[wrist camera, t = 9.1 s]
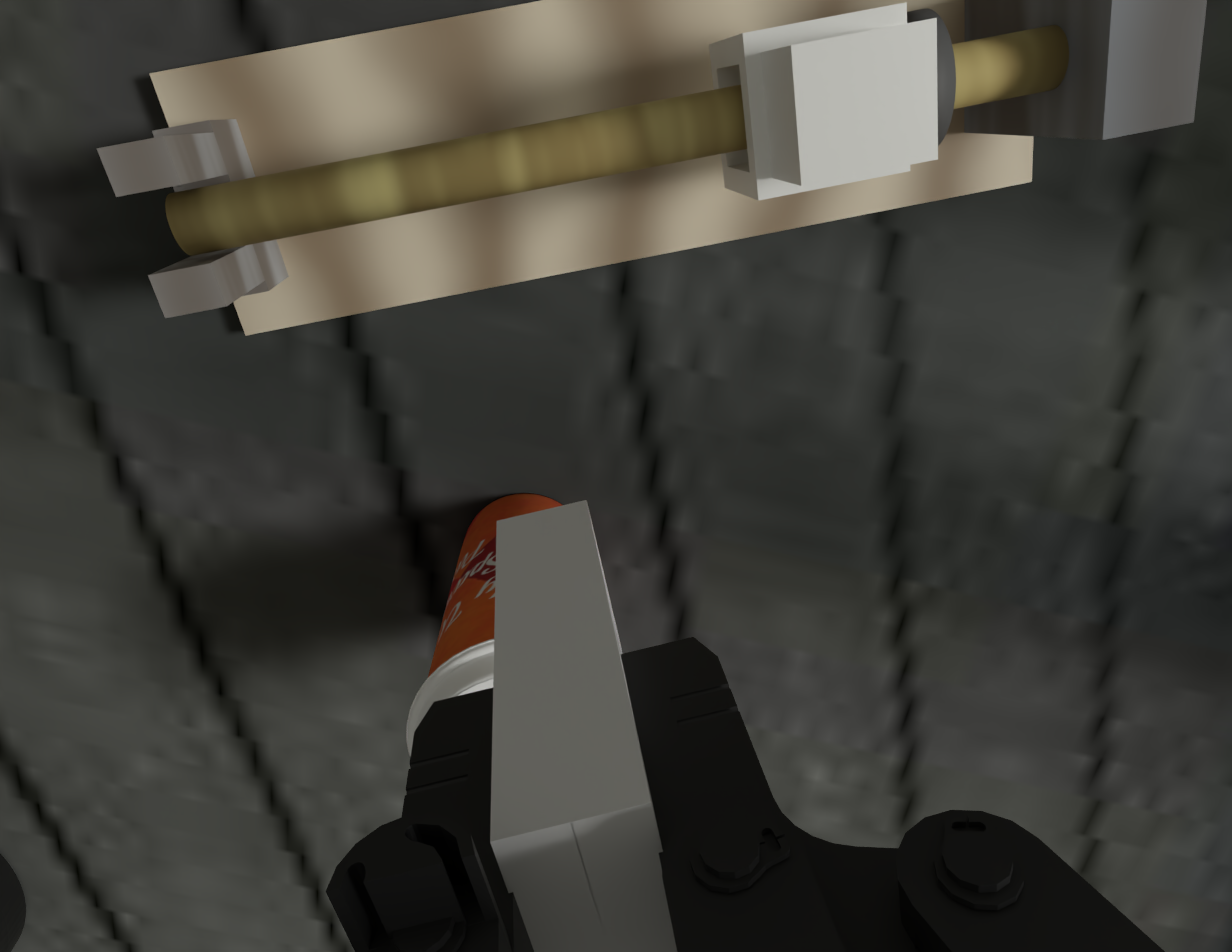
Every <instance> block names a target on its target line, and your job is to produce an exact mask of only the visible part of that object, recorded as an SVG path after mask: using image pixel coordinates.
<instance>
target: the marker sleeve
mask: <svg viewBox="0 0 1232 952" xmlns="http://www.w3.org/2000/svg"><path fill="white" fill-rule="evenodd" d="M709 51H710V60H711V69H712V78H713V87H714V90H715V89H720V88H725V87H730V86H736V85H741V90H742V100H743V110H744V120H745V130H746V140H747V149H744V150H739V151H734V152H728V153H723V154H721V159H722V168H723V177H724V186H725V188H727V189H729V190H732V191H735V192H737V193H740V194H742V195H745V196H748V197H750V198H753V199H756V200H758V201H759V200H764V199H769V198H775V197H780V196H785V195H790V194H795V193H800V192H805V191H811V190H816V189H821V188H826V187H831V186H836V185H841V184H847V183H852V182H857V181H862V180H867V179H872V178H877V177H883V176H888V175H893V174H898V173H903V172H908V171H910V165H912V164H917V163H922V162H927V161H932V160H938V100H937V18H932V19H927V20H922V21H917V22H911V23H907V2H905V3H899V4H894V5H889V6H883V7H878V8H873V9H868V10H862V11H857V12H852V13H846V14H841V15H836V16H830V17H825V18H820V19H815V20H809V21H804V22H799V23H793V24H788V25H783V26H778V27H772V28H767V29H762V30H756V31H751V32H746V33H741V34H738V35H736V36H733V37H730V38H727V39H724V40H721V41H718V42H715V43H712V44H709Z"/></svg>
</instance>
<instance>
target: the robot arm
mask: <svg viewBox="0 0 1232 952" xmlns="http://www.w3.org/2000/svg"><path fill="white" fill-rule="evenodd" d="M410 767H411V769H409V771H408V778H407V785H406V791H407V795H406V796H405V799H404V805H403V812H402V818H400V819H397V820H394V821H392V822H389V823H387V824H384V825H382V826H380V827H379V828H377V829H376V830H374V831H373V832H372V833H370V834H369V835H367V836H366V837H365V838H363V839H362V840H360V841H359V842H358V843H356V844H355V846H354V847H353V848H352V849H351V850H350V851H349V853H348V854H347V855H346V856H345V857H344V858H343V860H342V861H341V862H340V863H339V864H338V865H337V867H336V869H335V872H334V874H333V876H332V878H331V881H330V883H329V885H328V888H327V890H326V893H327V895H328V897H329V899H330V901H331V903H332V905H333V907H334V909H335V911H336V913H337V915H338V918H339V920H340V922H341V924H342V926H343V928H344V930H345V932H346V934H347V936H348V938H349V940H350V942H351V944H352V946H353V948H354V950H355V952H1165V951H1164V950H1162V949H1161V948H1160V947H1159V946H1158V945H1157V944H1156V943H1155V942H1153V941H1152V940H1151V939H1150V938H1149V937H1148V936H1147V935H1146V934H1145V933H1143V932H1142V931H1141V930H1140V929H1139V928H1138V927H1137V926H1136V925H1135V924H1133V923H1132V922H1131V921H1130V920H1129V919H1128V918H1127V917H1126V916H1125V915H1123V914H1122V913H1121V912H1120V911H1119V910H1118V909H1117V908H1116V907H1114V906H1113V905H1112V904H1111V903H1110V902H1109V901H1108V900H1107V899H1106V898H1104V897H1103V896H1102V895H1101V894H1100V893H1099V892H1098V891H1097V890H1096V889H1094V888H1093V887H1092V886H1091V885H1090V884H1089V883H1088V882H1087V881H1085V880H1084V879H1083V878H1082V877H1081V876H1080V875H1079V874H1078V873H1077V872H1075V871H1074V870H1073V869H1072V868H1071V867H1070V866H1069V865H1068V864H1067V863H1065V862H1064V861H1063V860H1062V859H1061V858H1060V857H1059V856H1058V855H1057V854H1055V853H1054V852H1053V851H1052V850H1051V849H1050V848H1049V847H1048V846H1046V845H1045V844H1044V843H1043V842H1042V841H1041V840H1040V839H1039V838H1037V837H1036V836H1034V835H1033V834H1031V833H1030V832H1028V831H1027V830H1025V829H1024V828H1022V827H1020V826H1019V825H1017V824H1016V823H1014V822H1013V821H1011V820H1008V819H1005V818H1001V817H998V816H995V815H992V814H989V813H986V812H983V811H965V810H949V811H946V812H943V813H939V814H936V815H932V816H929V817H925V818H924V819H922V820H921V821H920V822H919V823H917V824H916V825H915V826H914V827H912V828H911V829H910V830H909V831H907V832H906V833H905V835H904V838H903V840H902V842H901V844H900V847H899V849H897V848H875V847H855V846H848V845H841V844H834V843H830V842H828V841H825V840H822V839H819V838H816V837H814V836H811V835H810V834H808V833H806V832H805V831H803V830H802V829H800V828H798V827H797V826H795V825H794V824H793V823H792V822H791V821H790V820H789V819H788V818H787V817H786V816H785V815H784V814H783V813H782V812H781V810H780V808H779V807H778V805H777V803H776V802H775V800H774V798H773V796H772V793H771V791H770V788H769V786H768V783H767V780H766V778H765V775H764V773H763V770H762V768H761V765H760V763H759V760H758V758H757V755H756V753H755V750H754V748H753V745H752V742H751V740H750V737H749V735H748V732H747V730H746V727H745V725H744V722H743V720H742V717H741V715H740V712H739V711H738V708H737V704H736V702H735V699H734V697H733V694H732V692H731V689H730V688H729V685H728V682H727V679H726V677H725V674H724V671H723V669H722V666H721V664H720V661H719V659H718V656H716V655H715V654H714V653H713V652H711V651H710V650H709V649H708V648H706V647H705V646H704V645H703V644H701V643H700V642H699V641H698V640H696V639H695V638H694V637H691V638H687V639H683V640H679V641H674V642H670V643H666V644H662V645H658V646H654V647H649V648H645V649H641V650H637V651H633V652H628V653H624V654H622V649H621V645H620V640H619V636H618V632H617V627H616V623H615V619H614V615H613V610H612V606H611V602H610V598H609V593H608V589H607V585H606V581H605V576H604V572H603V568H602V564H601V559H600V555H599V551H598V547H597V542H596V538H595V534H594V530H593V525H592V521H591V517H590V513H589V508H588V504H587V500H584V501H580V502H576V503H571V504H567V505H563V506H558V507H554V508H550V509H545V510H541V511H537V512H533V513H528V514H524V515H520V516H515V517H511V518H507V519H502V520H498V521H497V528H496V578H495V627H494V677H493V688H489V689H485V690H481V691H476V692H472V693H468V694H464V695H460V696H455V697H451V698H447V699H443V700H439V701H434V702H433V704H432V705H431V707H430V708H429V710H428V711H427V713H426V714H425V716H424V718H423V719H422V721H421V722H420V724H419V725H418V727H417V729H416V730H415V732H414V737H413V744H412V751H411V758H410ZM25 917H26V904H25V897H24V893H23V890H22V887H21V885H20V882H19V880H18V878H17V876H16V874H15V873H14V871H13V869H12V868H11V867H10V865H9V864H8V862H7V861H6V860H5V859H4V858H3V857H2V855H1V854H0V952H11V951H12V949H13V947H14V946H15V944H16V942H17V941H18V939H19V937H20V935H21V933H22V930H23V927H24V923H25Z"/></svg>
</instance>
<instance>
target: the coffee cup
mask: <svg viewBox="0 0 1232 952" xmlns="http://www.w3.org/2000/svg"><path fill="white" fill-rule="evenodd" d="M558 506H563V505H562V504H561V503H559V502H557V501H555V500H553V499H551V498H549V497H546V496H542V495H538V494H531V493H520V494H513V495H508V496H505V497H502V498H499V499H497V500H495V501H493V502H491V503H490V504H488V505H487V506H486V507H484V508H483V509H482V510H481V511H480V512H479V513H478V514H477V515H476V517H475V518H474V519H473V521H472V523H471V524H470V526H469V528H468V530H467V533H466V536H465V538H464V542H463V545H462V548H461V552H460V555H459V559H458V563H457V566H456V570H455V574H454V578H453V581H452V585H451V589H450V593H449V597H448V601H447V605H446V609H445V612H444V616H443V620H442V624H441V628H440V632H439V636H438V640H437V644H436V648H435V652H434V656H433V660H432V664H431V668H430V672H429V676H428V678H427V679H426V681H425V682H424V684H423V685H422V687H421V688H420V690H419V691H418V692H417V694H416V697H415V699H414V701H413V703H412V706H411V708H410V712H409V717H408V721H407V734H406V740H407V746H408V751H409V755H410V758H411V751H412V744H413V737H414V732H415V730H416V729H417V727H418V725H419V724H420V722H421V721H422V719H423V718H424V716H425V714H426V713H427V711H428V710H429V708H430V707H431V705H432V704H433V702H434V701H439V700H443V699H447V698H451V697H455V696H460V695H464V694H468V693H472V692H476V691H481V690H485V689H489V688H493V677H494V627H495V578H496V528H497V521H498V520H502V519H507V518H511V517H515V516H520V515H524V514H528V513H533V512H537V511H541V510H545V509H550V508H554V507H558Z"/></svg>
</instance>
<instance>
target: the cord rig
mask: <svg viewBox="0 0 1232 952" xmlns="http://www.w3.org/2000/svg"><path fill="white" fill-rule="evenodd" d="M905 2H907V23H911V22H917V21H922V20H927V19H932V18H937V100H938V160H932V161H927V162H922V163H917V164H912V165H910V171H908V172H903V173H898V174H893V175H888V176H883V177H877V178H872V179H867V180H862V181H857V182H852V183H847V184H841V185H836V186H831V187H826V188H821V189H816V190H811V191H805V192H800V193H795V194H790V195H785V196H780V197H775V198H769V199H764V200H759V201H758V200H756V199H753V198H750V197H748V196H745V195H742V194H740V193H737V192H735V191H732V190H729V189H727V188H725V186H724V177H723V168H722V159H721V154H723V153H728V152H734V151H739V150H744V149H747V140H746V130H745V120H744V110H743V100H742V90H741V85H736V86H730V87H725V88H720V89H715V90H714V87H713V78H712V69H711V60H710V51H709V44H712V43H715V42H718V41H721V40H724V39H727V38H730V37H733V36H736V35H738V34H741V33H746V32H751V31H756V30H762V29H767V28H772V27H778V26H783V25H788V24H793V23H799V22H804V21H809V20H815V19H820V18H825V17H830V16H836V15H841V14H846V13H852V12H857V11H862V10H868V9H873V8H878V7H883V6H889V5H894V4H899V3H905ZM1206 4H1207V0H541V1H536V2H531V3H525V4H520V5H514V6H509V7H504V8H498V9H493V10H488V11H482V12H477V13H472V14H466V15H461V16H455V17H450V18H445V19H439V20H434V21H429V22H423V23H418V24H413V25H407V26H402V27H396V28H391V29H386V30H380V31H375V32H370V33H364V34H359V35H354V36H348V37H343V38H337V39H332V40H327V41H321V42H316V43H311V44H305V45H300V46H295V47H289V48H284V49H278V50H273V51H268V52H262V53H257V54H252V55H246V56H241V57H236V58H230V59H225V60H219V61H214V62H209V63H203V64H198V65H193V66H187V67H182V68H177V69H171V70H166V71H160V72H155V73H150V77H151V80H152V82H153V85H154V88H155V91H156V93H157V96H158V99H159V101H160V104H161V107H162V110H163V112H164V115H165V118H166V121H167V123H168V126H169V128H164V129H159V130H154V131H152V133H153V135H154V138H150V139H145V140H139V141H134V142H129V143H124V144H118V145H113V146H108V147H102V148H97V151H98V153H99V156H100V158H101V161H102V163H103V166H104V168H105V171H106V173H107V176H108V178H109V181H110V183H111V186H112V188H113V190H114V193H115V195H116V197H119V196H125V195H130V194H135V193H140V192H146V191H151V190H156V189H162V188H167V187H172V186H173V189H174V191H175V192H174V193H169V194H168V195H167V197H166V201H165V209H166V216H167V220H168V223H169V226H170V229H171V231H172V234H173V236H174V238H175V240H176V241H177V243H178V245H179V246H180V247H181V249H182V250H183V251H184V252H185V253H186V254H188V255H190V257H188V258H186V259H183V260H181V261H179V262H177V263H174V264H172V265H170V266H168V267H165V268H163V269H161V270H159V271H157V272H154V273H152V274H150V275H148V277H149V279H150V282H151V284H152V287H153V289H154V292H155V294H156V297H157V299H158V302H159V304H160V307H161V309H162V311H163V314H164V316H165V318H169V317H175V316H180V315H185V314H190V313H195V312H200V311H205V310H211V309H216V308H221V307H226V306H228V305H229V304H231V303H232V302H233V303H234V306H235V308H236V311H237V314H238V317H239V319H240V322H241V325H242V327H243V330H244V333H245V336H246V335H251V334H256V333H261V332H266V331H271V330H277V329H282V328H287V327H292V326H297V325H302V324H307V323H312V322H317V321H323V320H328V319H333V318H338V317H343V316H348V315H353V314H358V313H363V312H369V311H374V310H379V309H384V308H389V307H394V306H399V305H404V304H409V303H415V302H420V301H425V300H430V299H435V298H440V297H445V296H450V295H455V294H461V293H466V292H471V291H476V290H481V289H486V288H491V287H496V286H502V285H507V284H512V283H517V282H522V281H527V280H532V279H537V278H542V277H548V276H553V275H558V274H563V273H568V272H573V271H578V270H583V269H588V268H594V267H599V266H604V265H609V264H614V263H619V262H624V261H629V260H634V259H640V258H645V257H650V256H655V255H660V254H665V253H670V252H675V251H680V250H686V249H691V248H696V247H701V246H706V245H711V244H716V243H721V242H726V241H732V240H737V239H742V238H747V237H752V236H757V235H762V234H767V233H772V232H778V231H783V230H788V229H793V228H798V227H803V226H808V225H813V224H818V223H824V222H829V221H834V220H839V219H844V218H849V217H854V216H859V215H864V214H870V213H875V212H880V211H885V210H890V209H895V208H900V207H905V206H910V205H916V204H921V203H926V202H931V201H936V200H941V199H946V198H951V197H956V196H962V195H967V194H972V193H977V192H982V191H987V190H992V189H997V188H1002V187H1008V186H1013V185H1018V184H1023V183H1028V182H1032V162H1033V136H1037V137H1056V138H1076V139H1095V140H1105V139H1110V138H1115V137H1120V136H1125V135H1130V134H1135V133H1140V132H1146V131H1151V130H1156V129H1161V128H1166V127H1171V126H1176V125H1182V124H1187V123H1192V122H1194V114H1195V105H1196V96H1197V87H1198V77H1199V68H1200V59H1201V50H1202V41H1203V32H1204V23H1205V14H1206Z"/></svg>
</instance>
